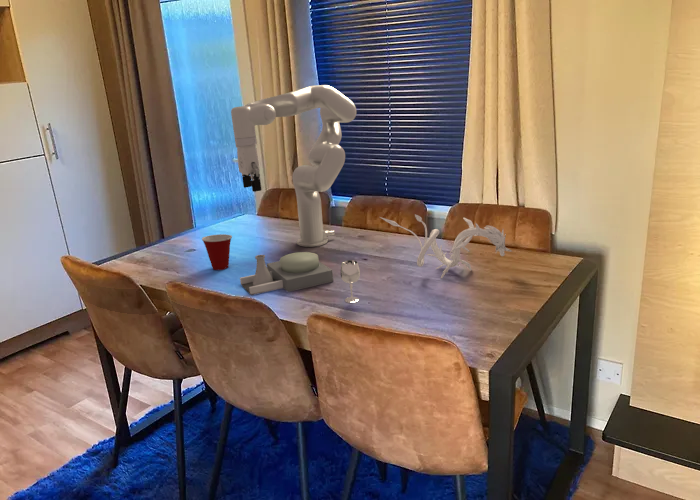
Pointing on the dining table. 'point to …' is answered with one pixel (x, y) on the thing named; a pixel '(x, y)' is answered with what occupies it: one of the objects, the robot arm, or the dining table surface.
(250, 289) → the two-pronged domed base
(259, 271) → the flask
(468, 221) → the white dragon statue
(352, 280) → the wineglass
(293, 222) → the dining table surface
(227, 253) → the plastic cup
